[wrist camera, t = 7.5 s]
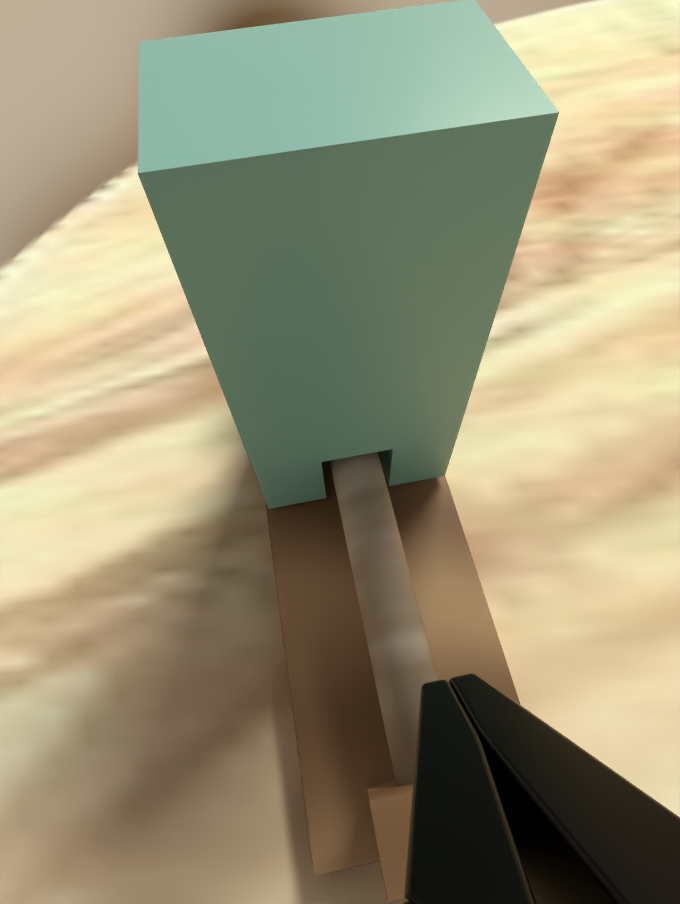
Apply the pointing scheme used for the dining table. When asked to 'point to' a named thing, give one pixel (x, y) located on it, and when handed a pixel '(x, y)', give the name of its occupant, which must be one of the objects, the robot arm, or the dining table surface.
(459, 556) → the wooden stand
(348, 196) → the notched teal tower
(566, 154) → the dining table surface
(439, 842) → the robot arm
